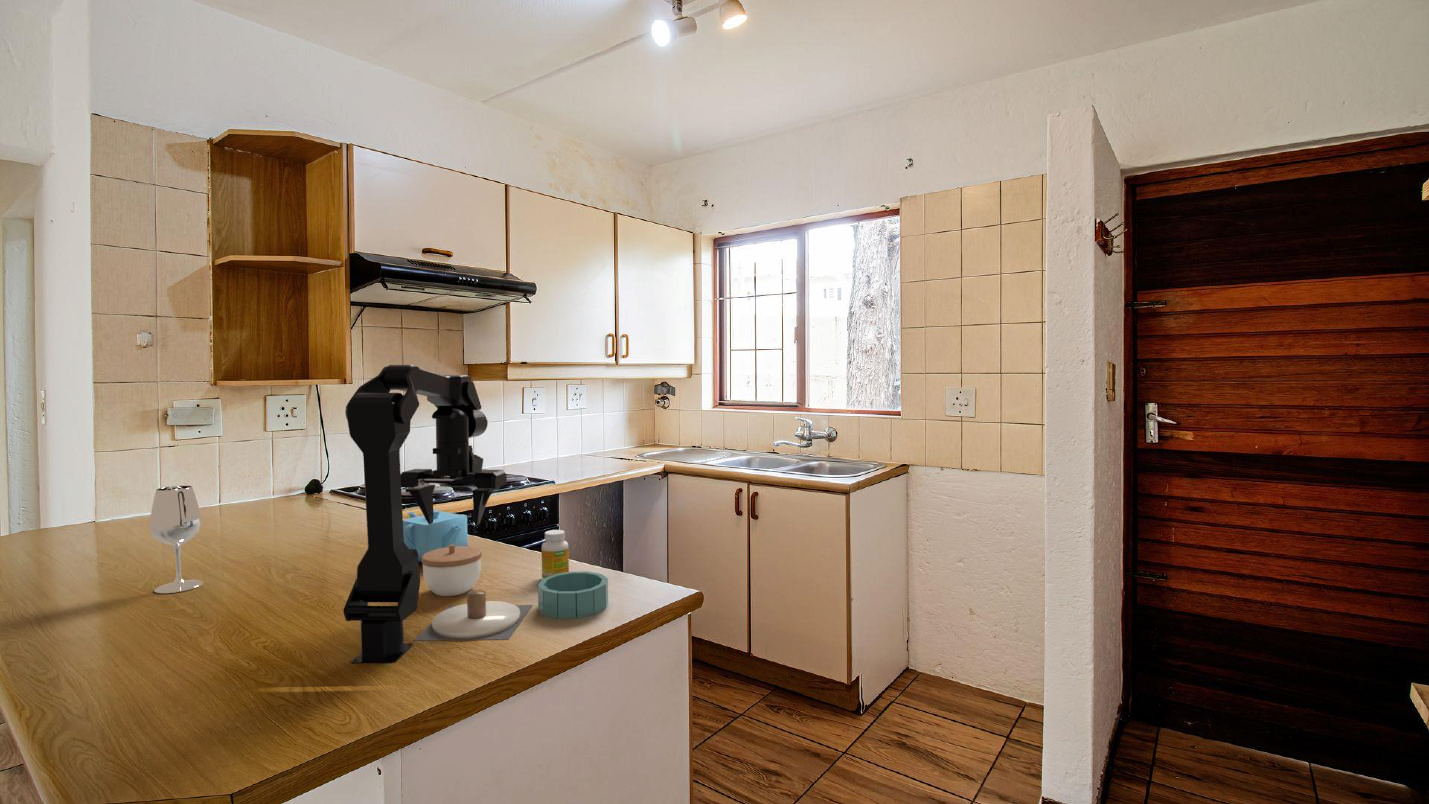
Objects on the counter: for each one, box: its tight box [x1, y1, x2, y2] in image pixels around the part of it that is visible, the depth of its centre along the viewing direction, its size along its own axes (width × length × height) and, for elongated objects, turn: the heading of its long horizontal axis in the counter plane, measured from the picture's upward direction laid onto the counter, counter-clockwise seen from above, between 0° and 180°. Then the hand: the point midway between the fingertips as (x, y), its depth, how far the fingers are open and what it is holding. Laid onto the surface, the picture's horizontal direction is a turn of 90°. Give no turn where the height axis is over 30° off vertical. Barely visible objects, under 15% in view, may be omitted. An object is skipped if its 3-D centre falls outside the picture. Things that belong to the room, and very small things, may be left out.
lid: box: [431, 589, 520, 639], centre depth 111 cm, size 14×14×5 cm
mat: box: [412, 604, 533, 642], centre depth 111 cm, size 15×15×1 cm
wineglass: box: [149, 485, 204, 595], centre depth 130 cm, size 8×8×20 cm
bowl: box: [537, 570, 609, 620], centre depth 118 cm, size 12×12×5 cm
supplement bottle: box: [541, 529, 570, 580], centre depth 135 cm, size 5×5×10 cm
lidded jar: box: [421, 544, 482, 597], centre depth 127 cm, size 11×11×9 cm
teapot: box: [403, 509, 469, 563], centre depth 149 cm, size 16×18×11 cm
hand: (454, 524), depth 124 cm, fingers open, 9 cm apart
